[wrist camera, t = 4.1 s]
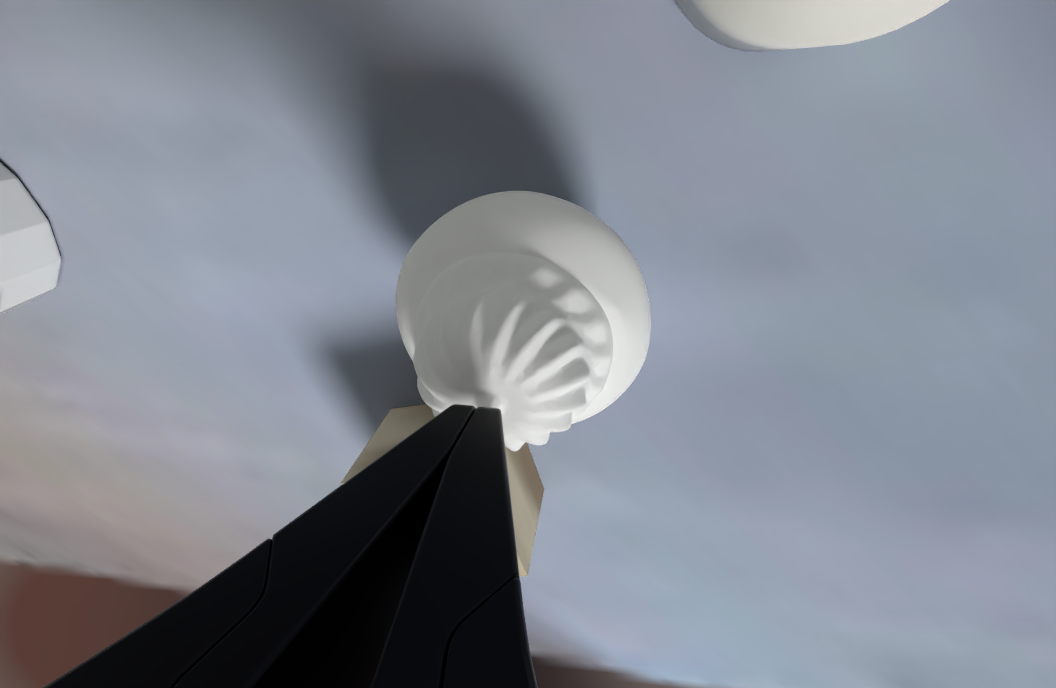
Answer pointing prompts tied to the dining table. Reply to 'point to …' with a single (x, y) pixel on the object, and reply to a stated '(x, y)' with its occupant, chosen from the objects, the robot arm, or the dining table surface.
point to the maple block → (519, 464)
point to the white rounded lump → (800, 21)
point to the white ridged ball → (523, 312)
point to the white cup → (24, 246)
